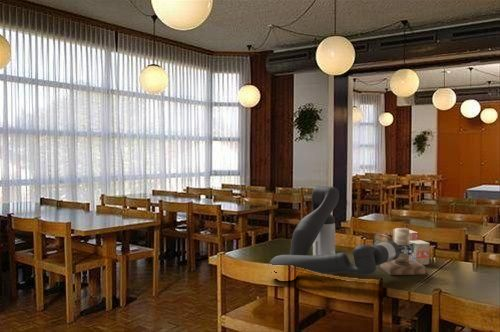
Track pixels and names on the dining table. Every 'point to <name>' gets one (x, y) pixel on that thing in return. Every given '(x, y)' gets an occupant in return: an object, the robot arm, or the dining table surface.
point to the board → (403, 268)
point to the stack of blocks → (417, 248)
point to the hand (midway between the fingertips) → (404, 245)
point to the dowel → (402, 238)
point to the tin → (380, 238)
